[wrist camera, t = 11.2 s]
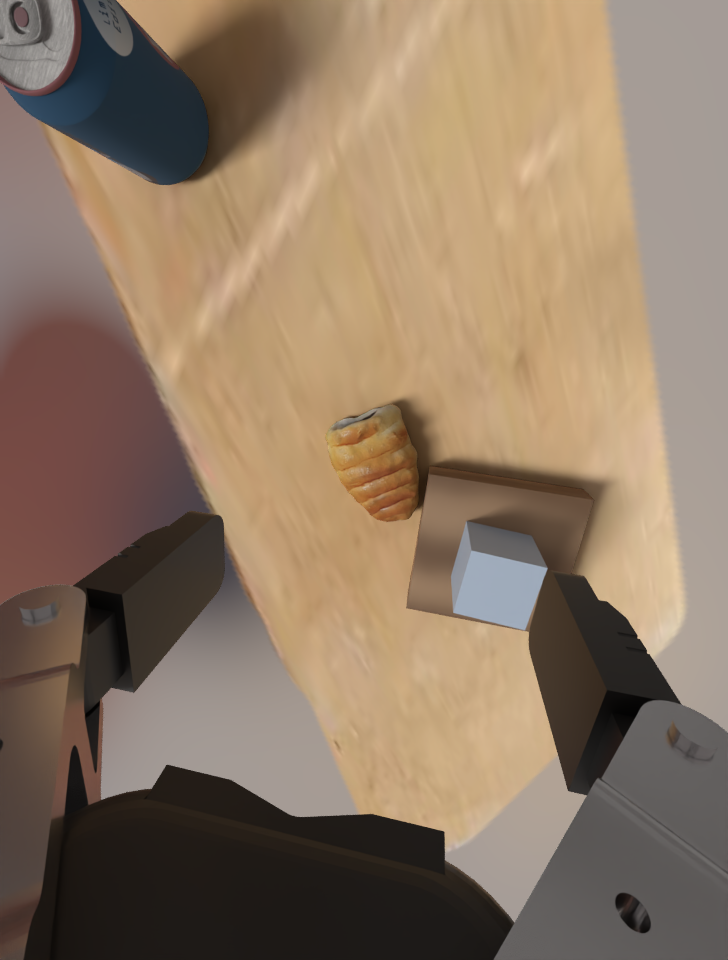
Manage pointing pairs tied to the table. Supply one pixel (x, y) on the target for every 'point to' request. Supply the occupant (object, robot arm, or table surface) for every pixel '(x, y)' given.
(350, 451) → the pastry
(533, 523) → the walnut base
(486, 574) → the blue cube
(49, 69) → the soda can
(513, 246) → the table surface
